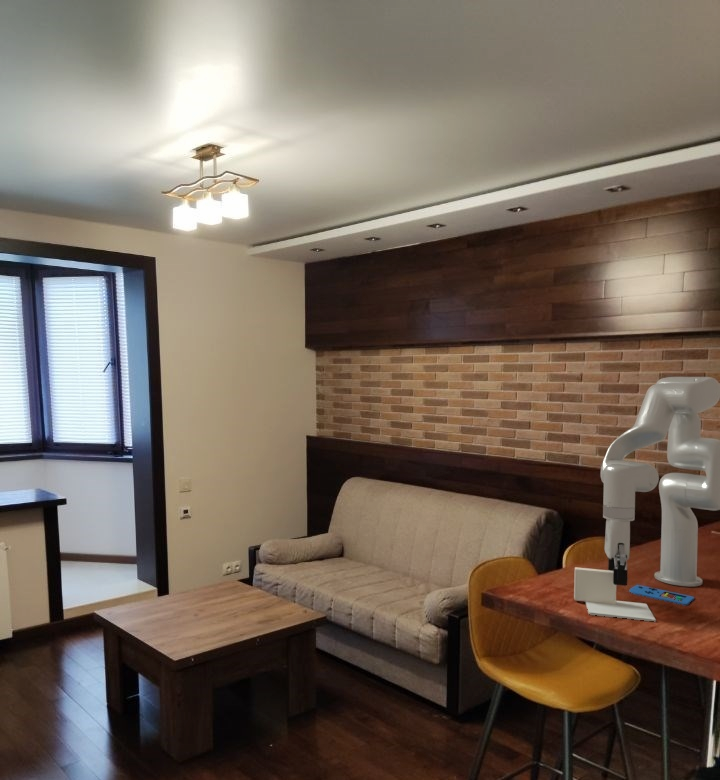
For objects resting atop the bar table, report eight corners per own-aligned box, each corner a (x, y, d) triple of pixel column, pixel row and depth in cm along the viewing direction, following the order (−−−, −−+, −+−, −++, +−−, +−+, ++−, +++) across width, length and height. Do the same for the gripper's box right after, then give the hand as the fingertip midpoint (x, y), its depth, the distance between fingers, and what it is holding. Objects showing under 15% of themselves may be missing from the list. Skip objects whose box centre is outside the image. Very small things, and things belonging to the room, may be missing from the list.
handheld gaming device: (636, 583, 179) (694, 595, 169) (636, 587, 179) (694, 600, 169) (626, 589, 173) (686, 603, 163) (626, 593, 173) (686, 607, 163)
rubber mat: (584, 599, 165) (584, 597, 165) (646, 606, 162) (646, 603, 162) (589, 614, 154) (589, 612, 154) (655, 622, 150) (655, 619, 150)
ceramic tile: (573, 597, 165) (574, 567, 165) (614, 601, 162) (615, 570, 162) (574, 600, 163) (575, 569, 163) (615, 604, 160) (616, 573, 160)
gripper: (599, 505, 171) (598, 568, 171) (607, 518, 154) (606, 587, 154) (629, 507, 169) (627, 571, 169) (640, 520, 152) (639, 591, 153)
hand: (617, 579), depth 162 cm, fingers open, 9 cm apart
